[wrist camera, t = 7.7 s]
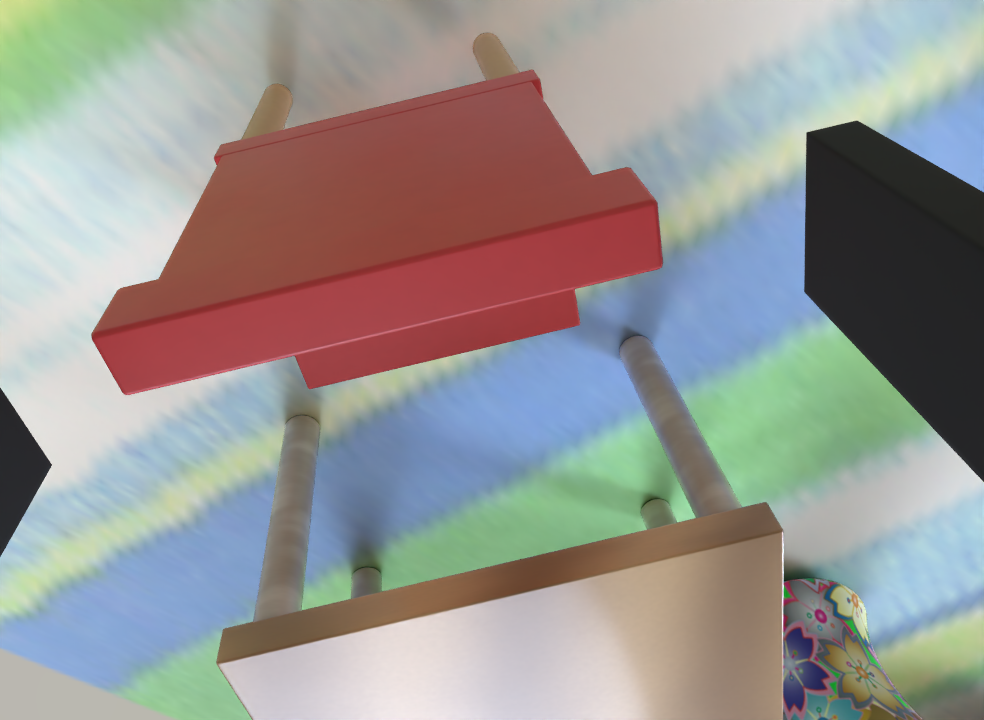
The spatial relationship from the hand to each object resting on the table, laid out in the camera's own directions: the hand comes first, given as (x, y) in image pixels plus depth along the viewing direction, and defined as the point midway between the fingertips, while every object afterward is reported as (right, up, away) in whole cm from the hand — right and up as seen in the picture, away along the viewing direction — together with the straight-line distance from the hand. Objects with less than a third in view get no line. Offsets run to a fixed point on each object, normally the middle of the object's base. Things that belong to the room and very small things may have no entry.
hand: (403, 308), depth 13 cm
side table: (+1, -6, +23) cm, 23 cm away
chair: (-2, +6, +15) cm, 16 cm away
